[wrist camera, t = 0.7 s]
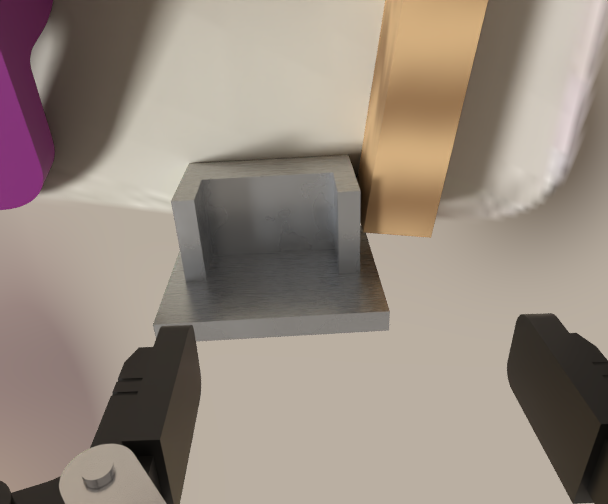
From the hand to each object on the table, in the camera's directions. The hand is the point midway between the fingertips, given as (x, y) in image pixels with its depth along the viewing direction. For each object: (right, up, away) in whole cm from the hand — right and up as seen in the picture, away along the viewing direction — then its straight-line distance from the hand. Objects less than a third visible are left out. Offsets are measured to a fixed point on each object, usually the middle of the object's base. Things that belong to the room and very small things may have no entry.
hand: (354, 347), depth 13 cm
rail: (+5, +13, +18) cm, 23 cm away
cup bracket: (-3, +5, +22) cm, 23 cm away
